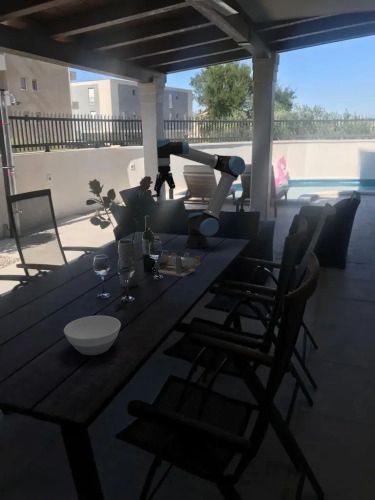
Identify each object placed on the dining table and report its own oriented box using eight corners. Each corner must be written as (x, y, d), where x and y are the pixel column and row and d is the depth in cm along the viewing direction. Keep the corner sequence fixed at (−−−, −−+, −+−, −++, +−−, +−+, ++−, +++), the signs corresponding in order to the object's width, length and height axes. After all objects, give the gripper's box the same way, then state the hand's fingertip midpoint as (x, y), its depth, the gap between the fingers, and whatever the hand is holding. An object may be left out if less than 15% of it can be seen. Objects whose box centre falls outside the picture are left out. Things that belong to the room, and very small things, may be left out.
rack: (164, 264, 252) (164, 256, 251) (172, 260, 260) (172, 253, 259) (192, 268, 243) (192, 260, 242) (200, 264, 251) (200, 256, 250)
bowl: (133, 346, 153) (132, 324, 151) (87, 368, 139) (85, 344, 137) (99, 331, 165) (98, 311, 163) (54, 350, 151) (52, 328, 149)
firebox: (149, 271, 239) (149, 254, 237) (161, 265, 249) (161, 249, 247) (183, 276, 228) (183, 258, 226) (195, 270, 238) (194, 253, 236)
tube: (155, 265, 240) (155, 254, 238) (161, 262, 245) (161, 252, 244) (189, 270, 229) (189, 259, 228) (195, 267, 234) (195, 256, 233)
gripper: (170, 164, 269) (171, 197, 274) (146, 166, 248) (148, 203, 253) (180, 164, 265) (181, 198, 270) (157, 166, 244) (159, 203, 250)
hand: (165, 200), depth 262 cm, fingers open, 13 cm apart
